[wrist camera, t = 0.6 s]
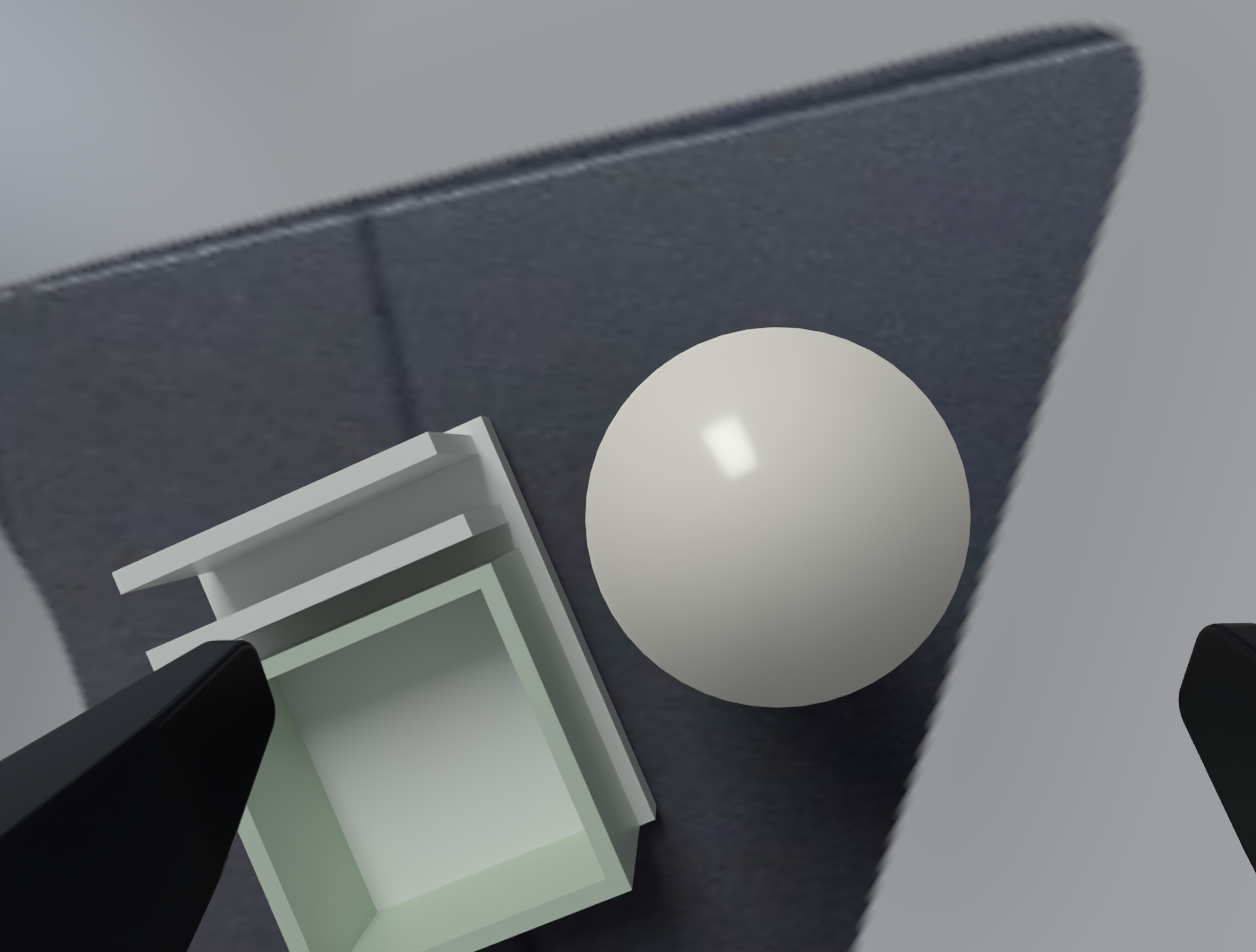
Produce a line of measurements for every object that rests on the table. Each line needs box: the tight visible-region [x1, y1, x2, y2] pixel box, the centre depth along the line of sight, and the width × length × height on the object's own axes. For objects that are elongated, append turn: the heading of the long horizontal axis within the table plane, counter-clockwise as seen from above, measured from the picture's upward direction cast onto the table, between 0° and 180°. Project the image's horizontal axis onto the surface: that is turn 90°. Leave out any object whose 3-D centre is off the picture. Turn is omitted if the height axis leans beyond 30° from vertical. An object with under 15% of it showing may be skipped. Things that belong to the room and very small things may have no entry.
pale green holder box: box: [112, 416, 656, 952], centre depth 23 cm, size 13×10×5 cm
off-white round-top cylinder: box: [585, 327, 970, 708], centre depth 18 cm, size 6×6×12 cm
